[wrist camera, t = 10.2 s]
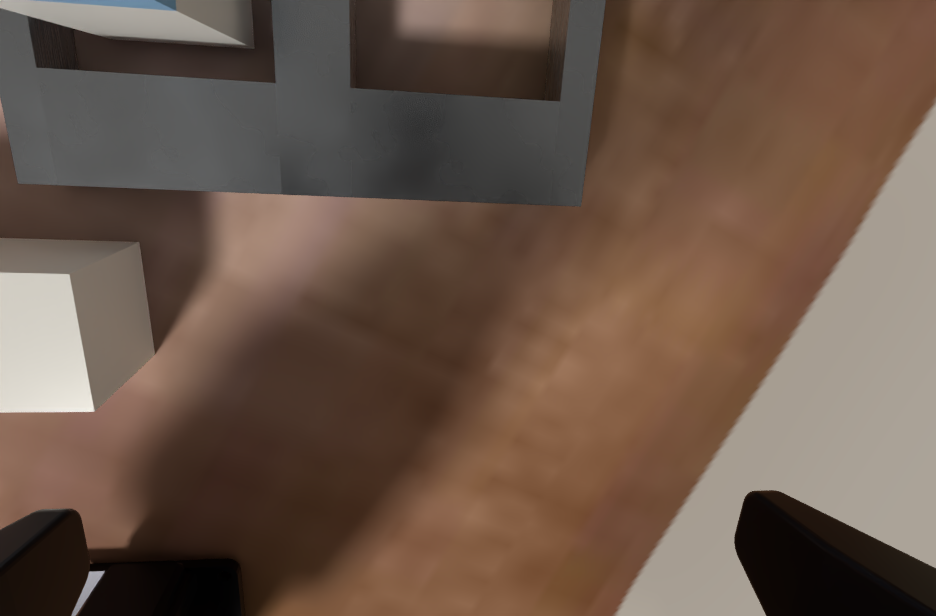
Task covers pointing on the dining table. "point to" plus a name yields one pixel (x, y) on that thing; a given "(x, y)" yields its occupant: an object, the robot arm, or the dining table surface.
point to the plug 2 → (70, 322)
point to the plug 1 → (150, 19)
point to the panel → (299, 120)
